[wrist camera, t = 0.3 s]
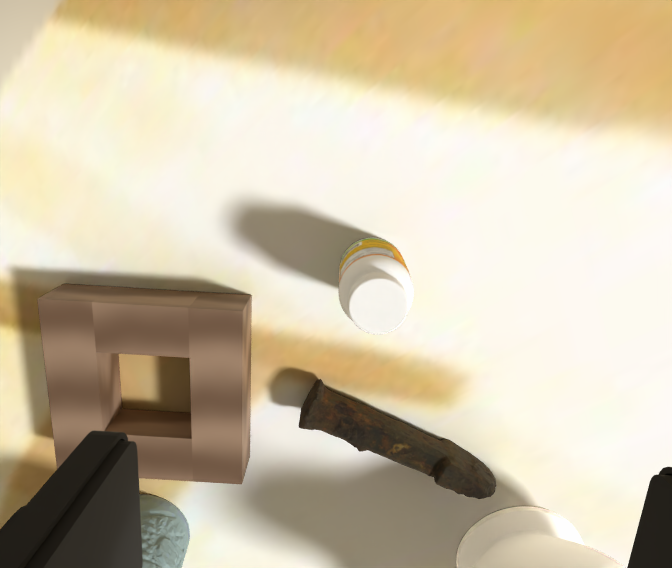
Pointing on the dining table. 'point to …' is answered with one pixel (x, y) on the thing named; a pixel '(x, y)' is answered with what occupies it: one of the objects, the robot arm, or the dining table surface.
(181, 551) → the blue grey cup
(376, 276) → the supplement bottle
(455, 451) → the hand tool
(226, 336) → the collar block
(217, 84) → the dining table surface
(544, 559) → the decorative vase
